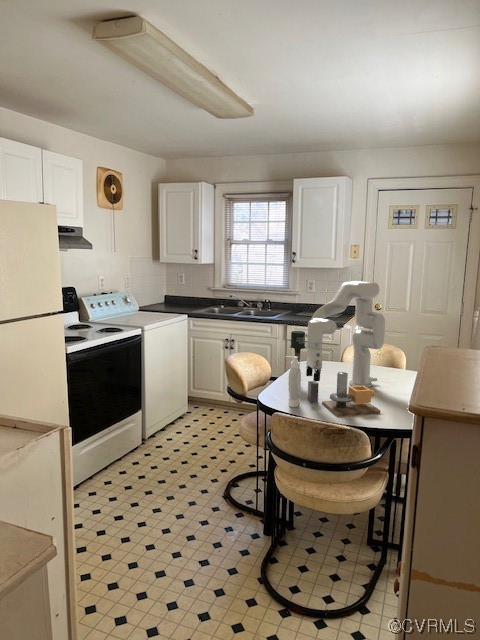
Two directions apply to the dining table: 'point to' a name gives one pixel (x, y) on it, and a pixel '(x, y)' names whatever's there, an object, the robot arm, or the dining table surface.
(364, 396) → the orange open box
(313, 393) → the dark gray block
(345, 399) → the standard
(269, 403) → the dining table surface
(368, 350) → the robot arm
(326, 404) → the base plate
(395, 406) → the dining table surface
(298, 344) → the potato masher grenade
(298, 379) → the soap bottle
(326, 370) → the dining table surface
